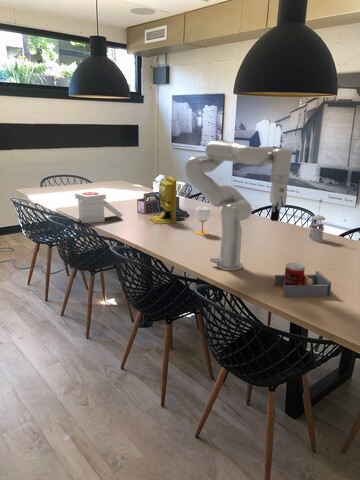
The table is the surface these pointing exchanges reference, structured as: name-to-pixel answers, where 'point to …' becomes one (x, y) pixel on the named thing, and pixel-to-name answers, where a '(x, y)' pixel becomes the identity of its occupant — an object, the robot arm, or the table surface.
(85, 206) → the pizza boxes
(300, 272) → the canned food
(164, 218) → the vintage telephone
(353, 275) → the table surface
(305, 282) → the pusher
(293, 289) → the frame
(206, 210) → the cup
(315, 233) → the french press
